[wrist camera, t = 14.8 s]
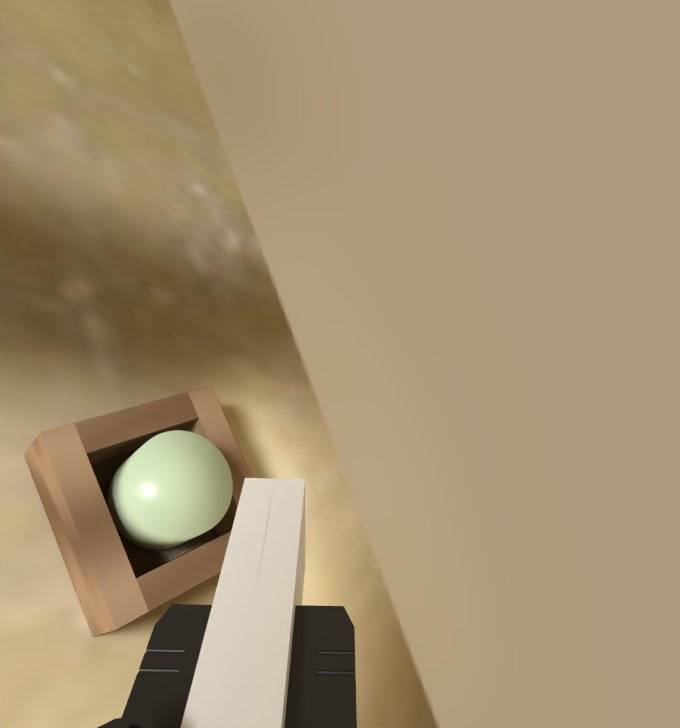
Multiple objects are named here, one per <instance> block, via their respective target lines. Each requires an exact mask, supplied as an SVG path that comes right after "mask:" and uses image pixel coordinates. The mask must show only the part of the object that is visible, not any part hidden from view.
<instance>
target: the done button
mask: <svg viewBox="0 0 680 728" xmlns="http://www.w3.org/2000/svg"><path fill="white" fill-rule="evenodd" d="M232 492H233V482H232V475H231V471H230V468H229V465H228V463H227V461H226V459H225V457H224V456H223V454H222V453H221V452H220V450H219V449H218V448H217V447H216V446H215V445H214V444H213V443H212V442H210V441H209V440H208V439H206V438H204V437H202V436H200V435H198V434H196V433H193V432H189V431H183V430H174V431H168V432H164V433H161V434H158V435H156V436H154V437H153V438H151V439H150V440H148V441H147V442H146V443H145V444H144V445H142V446H141V447H140V448H139V449H138V450H137V451H136V452H135V453H133V454H132V455H131V456H130V457H129V458H128V459H127V460H126V461H124V462H123V463H122V464H121V465H120V466H119V468H118V469H117V470H116V472H115V474H114V475H113V477H112V480H111V482H110V486H109V490H108V507H109V512H110V515H111V517H112V520H113V522H114V524H115V526H116V527H117V529H118V530H119V531H120V533H121V534H122V535H123V536H124V537H125V538H127V539H128V540H129V541H131V542H132V543H134V544H136V545H138V546H140V547H143V548H146V549H152V550H165V549H170V548H173V547H176V546H178V545H180V544H182V543H184V542H186V541H189V540H191V539H193V538H195V537H197V536H199V535H201V534H203V533H205V532H206V531H208V530H210V529H212V528H213V527H214V526H215V525H217V524H218V523H219V522H220V520H221V519H222V518H223V517H224V515H225V514H226V512H227V510H228V508H229V505H230V502H231V498H232Z"/></svg>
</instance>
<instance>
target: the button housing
mask: <svg viewBox="0 0 680 728" xmlns="http://www.w3.org/2000/svg"><path fill="white" fill-rule="evenodd" d="M174 430H183V431H189V432H193V433H196V434H198V435H200V436H202V437H204V438H206V439H208V440H209V441H210V442H212V443H213V444H214V445H215V446H216V447H217V448H218V449H219V450H220V452H221V453H222V454H223V456H224V457H225V459H226V461H227V463H228V465H229V468H230V471H231V475H232V482H233V492H232V498H231V502H230V505H229V508H228V510H227V512H226V514H225V515H224V517H223V518H222V519H221V520H220V522H219V523H218V524H217V525H215V526H214V527H213V528H214V531H215V533H216V535H217V538H215V539H213V540H211V541H209V542H207V543H205V544H203V545H201V546H199V547H197V548H195V549H193V550H191V551H189V552H187V553H185V554H183V555H181V556H179V557H177V558H175V559H173V560H171V561H168V562H166V563H164V564H162V565H160V566H158V567H156V568H154V569H152V570H150V571H148V572H146V573H144V574H142V575H140V576H138V577H135V575H134V572H133V570H132V567H131V565H130V562H129V560H128V557H127V555H126V552H125V550H124V547H123V545H122V542H121V540H120V537H119V535H118V532H117V530H116V527H115V525H114V522H113V520H112V517H111V515H110V512H109V510H108V507H107V504H106V502H105V499H104V497H103V494H102V492H101V489H100V487H99V484H98V482H97V479H96V477H95V474H94V472H93V469H92V467H91V465H94V464H97V463H100V462H103V461H106V460H109V459H112V458H115V457H118V456H121V455H124V454H127V453H130V452H133V451H136V450H138V449H139V448H140V447H141V446H142V445H144V444H145V443H146V442H147V441H148V440H150V439H151V438H153V437H154V436H156V435H158V434H161V433H164V432H168V431H174ZM24 456H25V458H26V461H27V464H28V466H29V469H30V471H31V474H32V477H33V479H34V482H35V485H36V487H37V490H38V493H39V495H40V498H41V501H42V503H43V506H44V508H45V511H46V514H47V516H48V519H49V522H50V524H51V527H52V530H53V532H54V535H55V538H56V540H57V543H58V545H59V548H60V551H61V553H62V556H63V559H64V561H65V564H66V567H67V569H68V572H69V574H70V577H71V580H72V582H73V585H74V588H75V590H76V593H77V596H78V598H79V601H80V604H81V606H82V609H83V611H84V614H85V617H86V619H87V622H88V625H89V627H90V630H91V633H92V635H93V637H94V636H97V635H100V634H104V633H107V632H110V631H113V630H116V629H118V628H120V627H122V626H124V625H126V624H127V623H129V622H131V621H133V620H135V619H136V618H138V617H140V616H142V615H144V614H145V613H147V612H149V611H151V610H153V609H155V608H156V607H158V606H160V605H162V604H164V603H165V602H167V601H169V600H171V599H173V598H174V597H176V596H178V595H180V594H182V593H184V592H185V591H187V590H189V589H191V588H193V587H194V586H196V585H198V584H200V583H202V582H204V581H205V580H207V579H209V578H211V577H213V576H214V575H216V574H218V573H220V572H221V569H222V565H223V562H224V558H225V554H226V550H227V546H228V542H229V538H230V535H231V531H232V527H233V523H234V519H235V515H236V511H237V507H238V504H239V500H240V496H241V492H242V488H243V484H244V480H245V478H252V476H251V474H250V471H249V469H248V467H247V465H246V462H245V460H244V458H243V456H242V453H241V451H240V449H239V447H238V444H237V442H236V440H235V438H234V435H233V433H232V431H231V429H230V426H229V424H228V422H227V420H226V417H225V415H224V413H223V411H222V408H221V406H220V404H219V402H218V399H217V397H216V395H215V393H214V390H213V388H212V386H208V387H205V388H201V389H197V390H194V391H190V392H186V393H183V394H179V395H176V396H172V397H168V398H165V399H161V400H157V401H154V402H150V403H147V404H143V405H139V406H136V407H132V408H128V409H125V410H121V411H117V412H114V413H110V414H107V415H103V416H99V417H96V418H92V419H88V420H85V421H81V422H78V423H74V424H70V425H67V426H63V427H59V428H56V429H52V430H49V431H45V432H41V433H40V434H39V435H38V436H37V438H36V439H35V441H34V442H33V444H32V445H31V446H30V448H29V449H28V451H27V452H26V453H25V455H24Z"/></svg>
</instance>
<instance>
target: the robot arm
mask: <svg viewBox="0 0 680 728" xmlns="http://www.w3.org/2000/svg"><path fill="white" fill-rule="evenodd" d="M304 571H305V479H269V478H245V480H244V484H243V488H242V492H241V496H240V500H239V504H238V507H237V511H236V515H235V519H234V523H233V527H232V531H231V535H230V538H229V542H228V546H227V550H226V554H225V558H224V562H223V565H222V569H221V573H220V577H219V581H218V585H217V589H216V593H215V596H214V600H213V604H212V605H185V604H172V605H171V607H170V608H169V609H168V610H167V611H166V612H165V614H164V615H163V616H162V617H161V618H160V619H159V621H158V622H157V623H156V624H155V626H154V629H153V632H152V635H151V637H150V640H149V643H148V646H147V651H146V653H145V654H144V657H143V660H142V662H141V665H140V670H139V673H138V674H137V676H136V679H135V682H134V685H133V688H132V690H131V693H130V696H129V699H128V702H127V704H126V707H125V710H124V713H123V715H122V718H118V719H114V720H112V721H110V722H108V723H106V724H104V725H102V726H100V727H98V728H357V720H356V679H355V638H354V626H353V624H352V622H351V620H350V618H349V616H348V614H347V612H346V610H345V608H344V606H302V596H303V583H304Z"/></svg>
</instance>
